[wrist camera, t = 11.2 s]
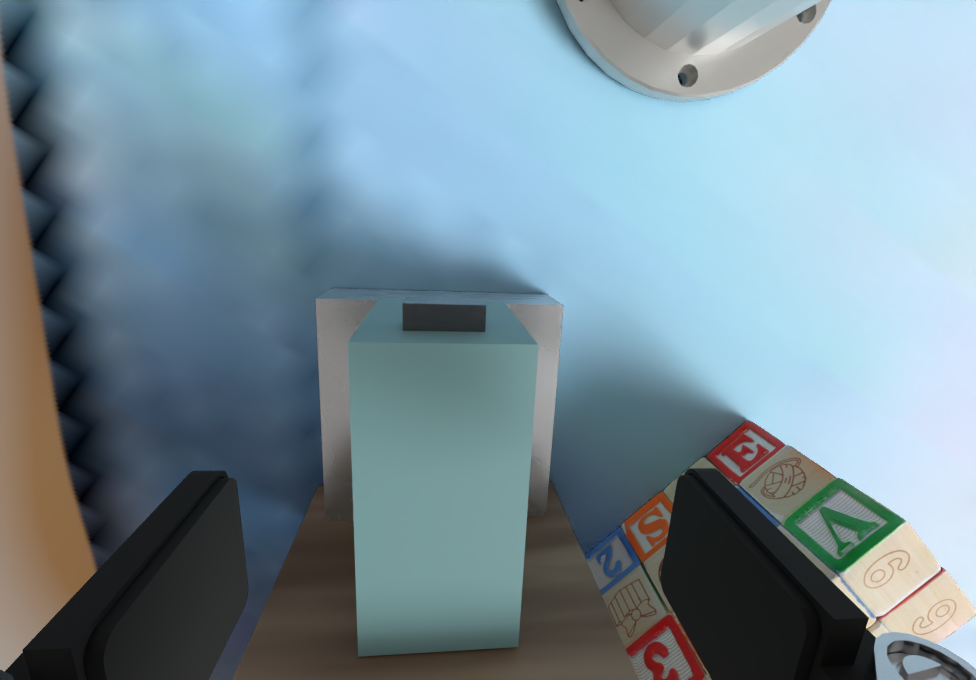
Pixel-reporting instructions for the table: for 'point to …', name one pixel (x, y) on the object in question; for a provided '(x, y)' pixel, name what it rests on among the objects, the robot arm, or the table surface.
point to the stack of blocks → (808, 525)
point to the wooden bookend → (331, 554)
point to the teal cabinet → (440, 473)
